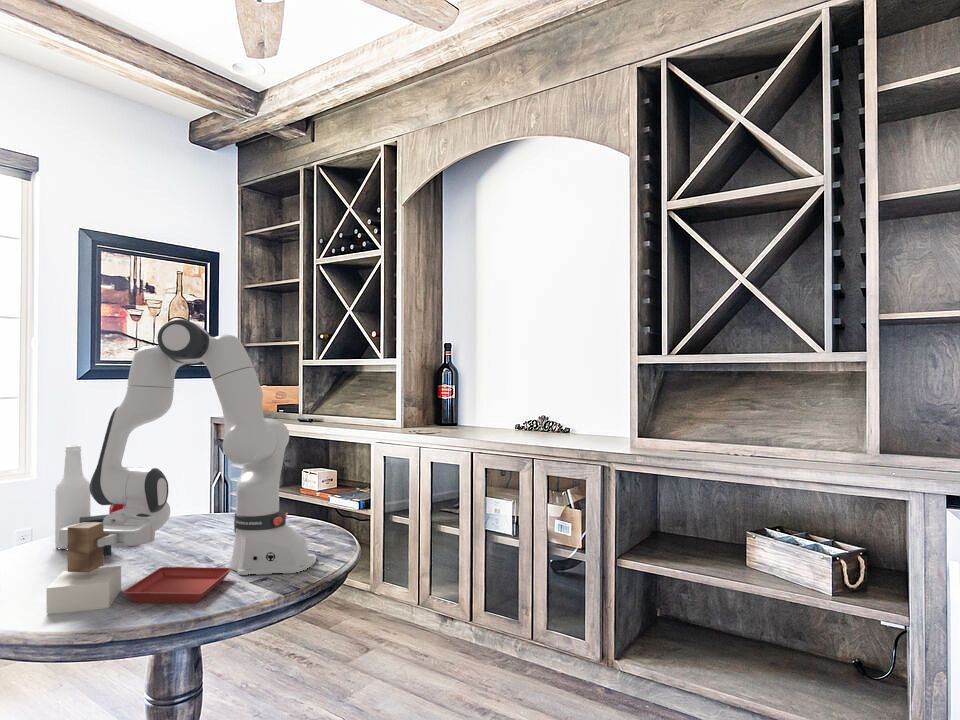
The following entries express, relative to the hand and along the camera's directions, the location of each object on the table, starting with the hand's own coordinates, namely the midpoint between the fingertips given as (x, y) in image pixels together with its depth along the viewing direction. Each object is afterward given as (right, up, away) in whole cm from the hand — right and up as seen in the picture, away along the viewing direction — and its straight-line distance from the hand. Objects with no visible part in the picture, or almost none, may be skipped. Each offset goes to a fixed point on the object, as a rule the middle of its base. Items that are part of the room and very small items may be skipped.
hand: (83, 543), depth 145 cm
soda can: (-20, -14, +51) cm, 57 cm away
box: (-19, -14, +36) cm, 43 cm away
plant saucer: (+19, -14, +7) cm, 25 cm away
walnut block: (0, -6, +1) cm, 6 cm away
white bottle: (-31, -14, +44) cm, 56 cm away
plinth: (0, -14, +1) cm, 14 cm away
